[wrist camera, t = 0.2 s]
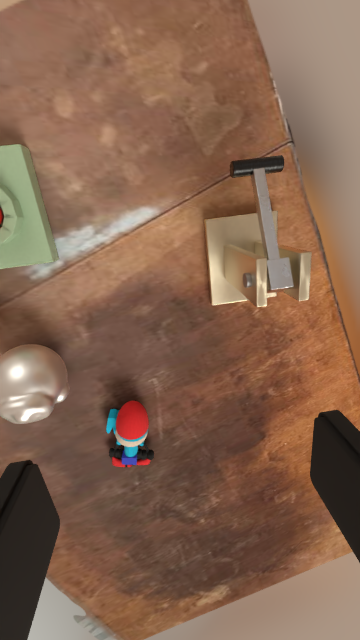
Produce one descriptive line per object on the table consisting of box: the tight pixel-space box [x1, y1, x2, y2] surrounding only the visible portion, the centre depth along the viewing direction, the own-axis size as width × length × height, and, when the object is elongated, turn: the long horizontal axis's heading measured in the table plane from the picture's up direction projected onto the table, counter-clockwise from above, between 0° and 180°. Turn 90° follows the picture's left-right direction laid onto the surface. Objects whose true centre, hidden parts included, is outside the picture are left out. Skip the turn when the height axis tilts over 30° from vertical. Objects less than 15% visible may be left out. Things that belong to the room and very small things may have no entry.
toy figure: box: [106, 401, 154, 467], centre depth 43 cm, size 8×5×15 cm
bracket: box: [204, 211, 312, 307], centre depth 31 cm, size 11×9×13 cm
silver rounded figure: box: [0, 344, 70, 424], centre depth 35 cm, size 9×10×10 cm
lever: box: [230, 155, 294, 293], centre depth 27 cm, size 13×5×2 cm, turn 6°
